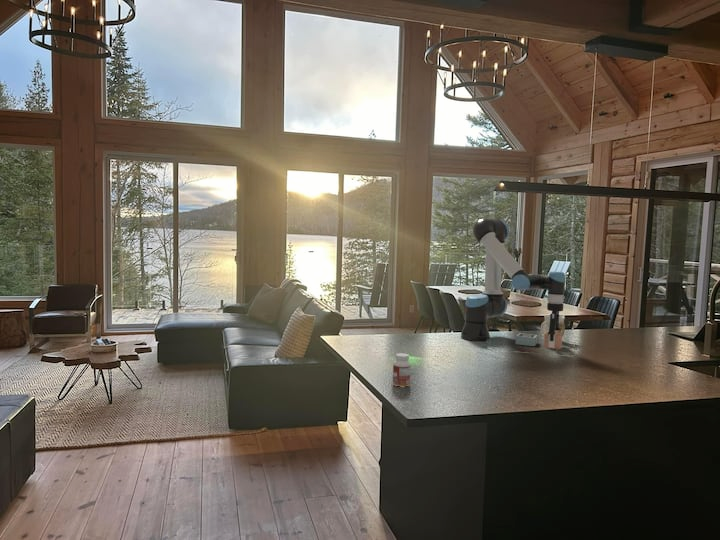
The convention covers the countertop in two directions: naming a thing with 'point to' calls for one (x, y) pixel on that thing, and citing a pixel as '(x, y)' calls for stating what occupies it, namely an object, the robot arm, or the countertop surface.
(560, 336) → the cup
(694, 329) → the countertop surface
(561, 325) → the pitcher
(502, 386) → the countertop surface
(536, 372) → the countertop surface
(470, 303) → the robot arm
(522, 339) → the crate
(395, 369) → the pill bottle
